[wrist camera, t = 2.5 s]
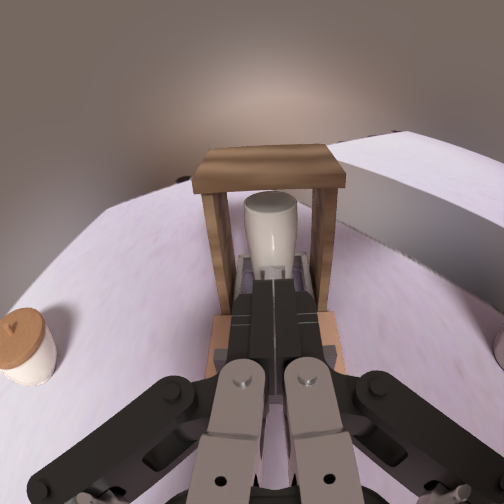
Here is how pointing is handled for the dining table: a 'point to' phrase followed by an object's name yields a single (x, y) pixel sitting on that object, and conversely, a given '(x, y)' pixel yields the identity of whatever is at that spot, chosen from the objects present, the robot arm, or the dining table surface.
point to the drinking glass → (271, 230)
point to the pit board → (223, 329)
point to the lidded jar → (26, 348)
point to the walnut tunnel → (270, 178)
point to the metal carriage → (273, 273)
